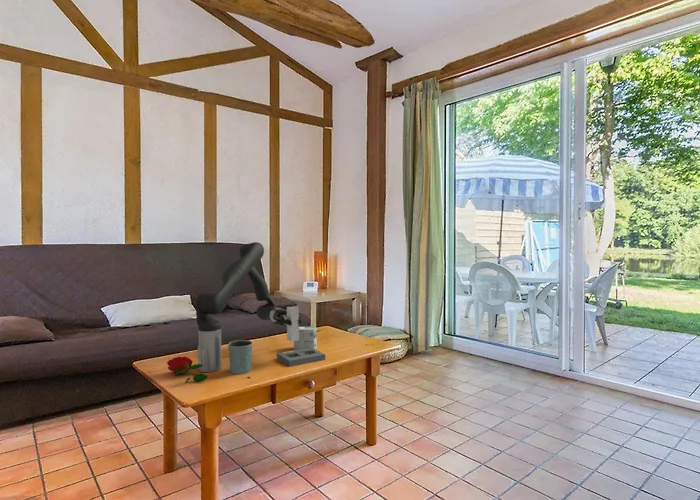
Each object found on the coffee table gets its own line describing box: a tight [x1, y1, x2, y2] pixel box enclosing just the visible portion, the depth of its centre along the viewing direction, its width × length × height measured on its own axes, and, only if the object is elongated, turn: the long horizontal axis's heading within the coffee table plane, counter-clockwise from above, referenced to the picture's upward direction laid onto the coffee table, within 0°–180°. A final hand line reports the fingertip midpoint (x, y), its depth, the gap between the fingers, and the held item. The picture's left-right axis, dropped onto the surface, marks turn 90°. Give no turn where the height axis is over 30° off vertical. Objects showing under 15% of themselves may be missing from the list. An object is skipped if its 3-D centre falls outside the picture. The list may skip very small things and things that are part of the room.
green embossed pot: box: [227, 339, 253, 375], centre depth 181 cm, size 10×10×12 cm
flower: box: [166, 356, 209, 384], centre depth 171 cm, size 9×9×30 cm
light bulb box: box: [293, 326, 318, 351], centre depth 216 cm, size 11×7×11 cm, turn 84°
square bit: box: [286, 305, 300, 342], centre depth 195 cm, size 4×4×15 cm
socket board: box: [276, 348, 326, 367], centre depth 198 cm, size 18×14×3 cm
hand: (295, 322), depth 193 cm, fingers closed on square bit, 4 cm apart
